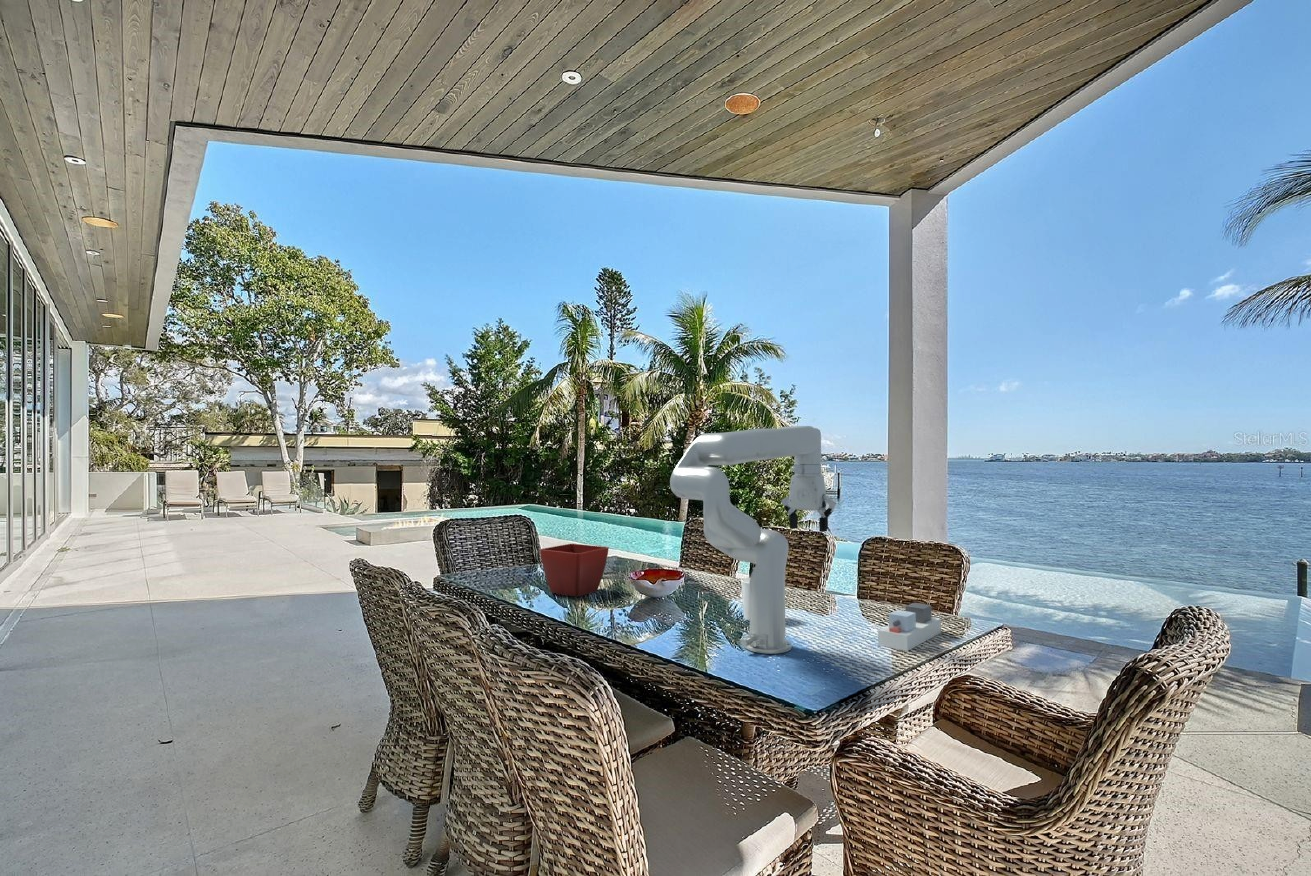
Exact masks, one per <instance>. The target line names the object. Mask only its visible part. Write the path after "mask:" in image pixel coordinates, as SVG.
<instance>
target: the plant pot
mask: <svg viewBox="0 0 1311 876" xmlns="http://www.w3.org/2000/svg"><path fill="white" fill-rule="evenodd" d="M539 553H540V558H541V563H542V567H543V573H544V575H545V580H546V582H547V584H548V587H549V590H550V593H551V592H552V593H551V594H554V593H556V595H560V594H561V596H566V595H569V596H568V597H573V596H574V598H576V597H577V598H579V597H582V596H585V595H588V594H589V595H590V594H592V593H596V592H597V591H598V589H599V586H600V584H601V581H602V578H603V575H604V572H605V570H606V569H605V568H606V566H607V565H606V564H607V561H608V560H607V559H608V554H609V547H607V546H600V545H599V546H598V545H590V544H579V543H568V544H567V543H565V544H562V545H556V546H551V547H545V548H540V550H539ZM578 596H579V597H578Z"/></svg>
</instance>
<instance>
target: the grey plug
mask: <svg viewBox="0 0 1311 876" xmlns="http://www.w3.org/2000/svg"><path fill="white" fill-rule="evenodd" d="M888 626H889V629H890V628H892V627H894V628H900V629H901V631H904V632H908V631H910V630H912V629H914V628H916V613H914V612H908V611H906V610H901V609H897V610H893V611H892V612H890V613H888Z"/></svg>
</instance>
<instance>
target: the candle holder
mask: <svg viewBox="0 0 1311 876" xmlns="http://www.w3.org/2000/svg"><path fill="white" fill-rule="evenodd" d="M749 581H750V577H744V578H741V580H740V582H741V595H742V596H741V597H742V614H743V619H744V620H746V621H749V622H750V596H749Z"/></svg>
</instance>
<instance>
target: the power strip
mask: <svg viewBox="0 0 1311 876" xmlns="http://www.w3.org/2000/svg"><path fill="white" fill-rule="evenodd" d="M941 619H942V618H940V617H934V616H933V617H932V619H931V620H929V621H927V622H925V623H919V622H916V628H914V629H912V630H910V631H908V632H904V631H901V629H900V628H894V627H892V628H890V629H889V625H887V626H884V627H883V628H880V629H878V630H877V639H878V640H877V645H878V646H880V645H881V646H882V647H886V648H891V649H897V650H901V651H905V652H908V651H910V650H912V649H913V648H915V647H917V646H919V645H921V644H923V643H924V642H927V641H929V640H930V639H932V638H933V637H936V636H938V635H939V634H941V633H942V622H941ZM926 640H927V641H926Z"/></svg>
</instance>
